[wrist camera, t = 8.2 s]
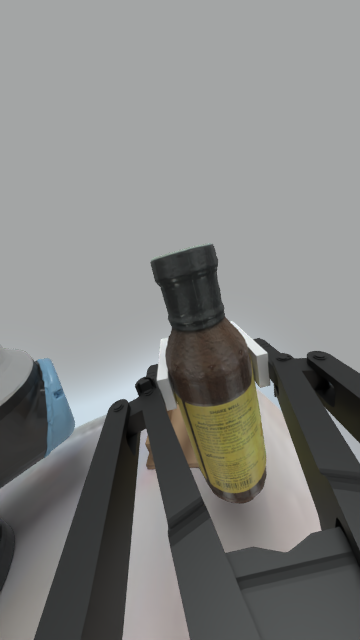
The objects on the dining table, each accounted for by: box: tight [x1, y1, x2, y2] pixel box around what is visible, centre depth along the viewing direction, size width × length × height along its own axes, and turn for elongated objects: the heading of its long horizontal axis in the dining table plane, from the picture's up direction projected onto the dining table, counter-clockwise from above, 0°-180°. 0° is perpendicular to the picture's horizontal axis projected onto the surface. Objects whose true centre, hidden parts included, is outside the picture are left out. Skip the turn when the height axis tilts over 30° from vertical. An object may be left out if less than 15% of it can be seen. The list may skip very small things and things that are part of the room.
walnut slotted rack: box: [145, 403, 199, 469], centre depth 31 cm, size 14×12×6 cm
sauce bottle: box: [151, 243, 266, 504], centre depth 13 cm, size 6×6×20 cm
